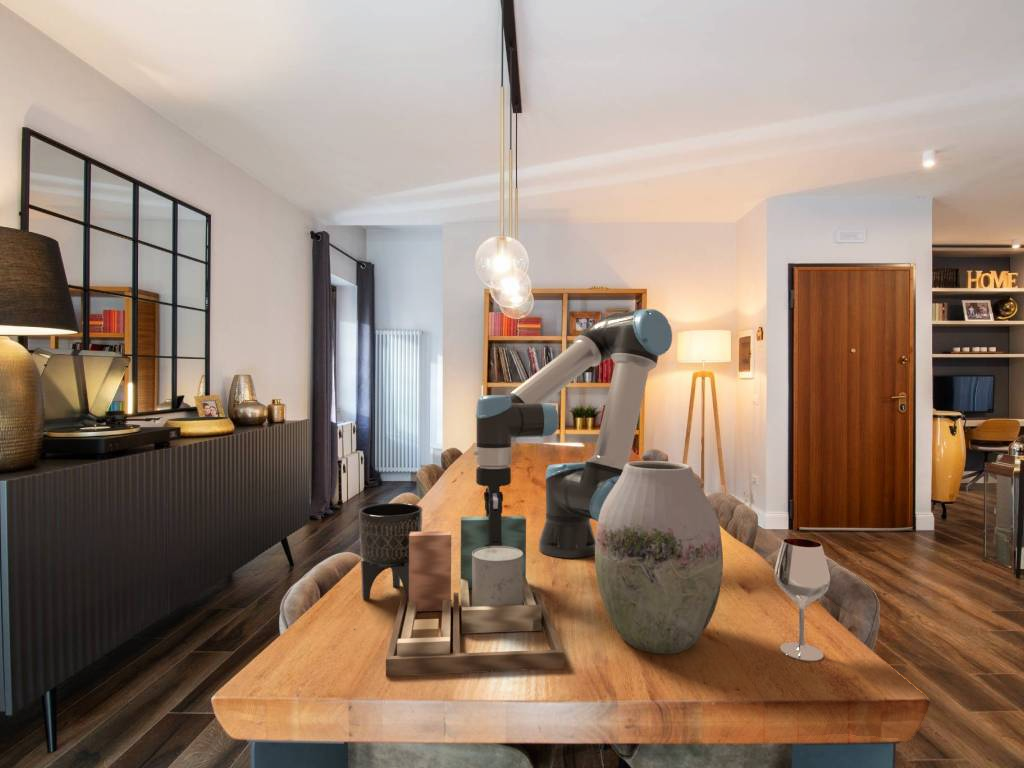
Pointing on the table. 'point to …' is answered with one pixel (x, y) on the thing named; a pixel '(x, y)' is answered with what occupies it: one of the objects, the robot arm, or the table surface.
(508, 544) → the can sled
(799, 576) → the wineglass
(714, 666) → the table surface
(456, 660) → the guide frame
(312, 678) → the table surface
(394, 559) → the planter
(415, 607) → the cube sled
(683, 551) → the vase
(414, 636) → the oak cube
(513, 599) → the speckled stone cylinder
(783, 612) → the table surface
